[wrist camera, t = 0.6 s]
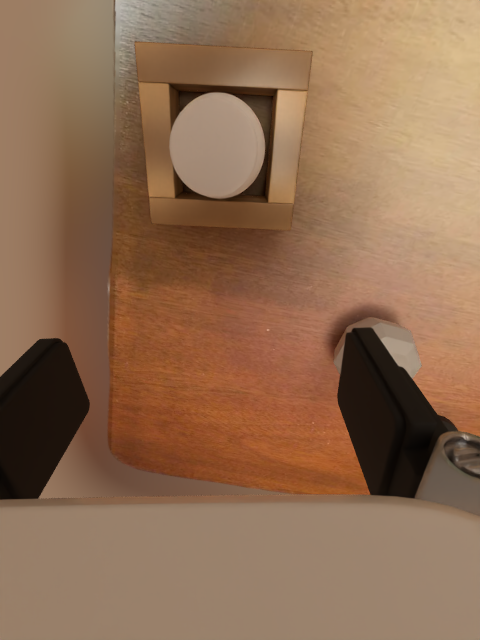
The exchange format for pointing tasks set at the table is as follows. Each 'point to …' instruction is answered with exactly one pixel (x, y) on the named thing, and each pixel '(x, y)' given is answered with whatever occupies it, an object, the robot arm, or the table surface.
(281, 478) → the table surface
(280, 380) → the table surface
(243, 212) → the holder
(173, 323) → the table surface
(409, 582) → the robot arm
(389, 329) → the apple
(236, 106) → the pill bottle
